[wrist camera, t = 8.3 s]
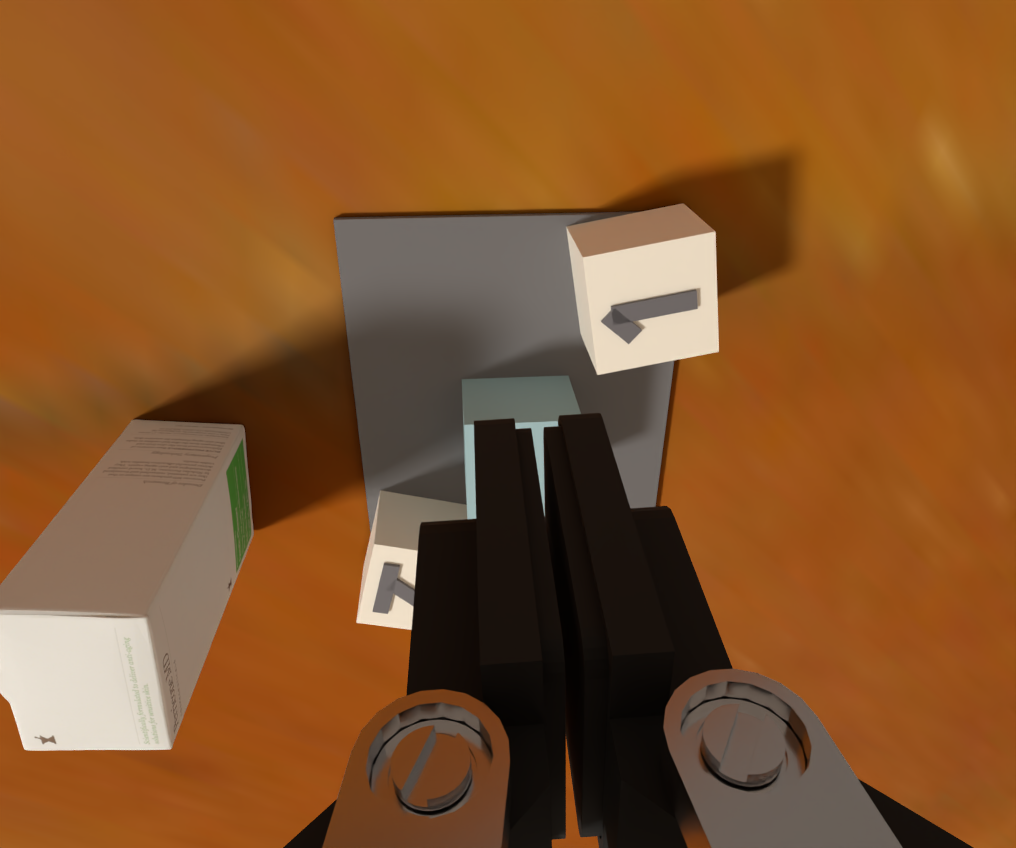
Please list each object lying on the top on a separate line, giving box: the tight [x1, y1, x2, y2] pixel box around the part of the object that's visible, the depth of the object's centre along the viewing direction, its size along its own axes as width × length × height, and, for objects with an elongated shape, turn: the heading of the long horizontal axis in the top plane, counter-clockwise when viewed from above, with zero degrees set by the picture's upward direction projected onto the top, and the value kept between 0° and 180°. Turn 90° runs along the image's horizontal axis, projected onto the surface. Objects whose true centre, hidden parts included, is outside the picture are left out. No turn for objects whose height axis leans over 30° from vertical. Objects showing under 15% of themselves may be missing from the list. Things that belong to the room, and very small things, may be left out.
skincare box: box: [0, 419, 254, 750], centre depth 37 cm, size 8×7×16 cm
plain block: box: [462, 375, 581, 519], centre depth 41 cm, size 6×6×5 cm
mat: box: [334, 211, 674, 531], centre depth 43 cm, size 18×24×1 cm
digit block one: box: [566, 203, 719, 375], centre depth 36 cm, size 6×6×5 cm
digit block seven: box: [356, 490, 467, 630], centre depth 44 cm, size 6×6×5 cm
